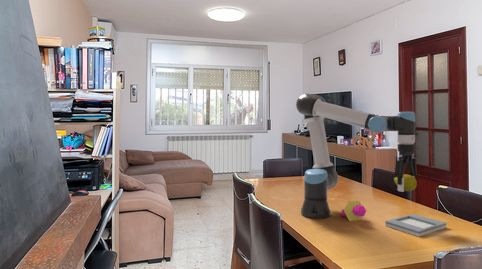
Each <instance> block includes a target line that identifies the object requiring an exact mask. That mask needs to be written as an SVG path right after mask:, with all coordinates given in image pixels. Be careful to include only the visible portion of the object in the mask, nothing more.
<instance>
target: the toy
mask: <svg viewBox="0 0 482 269" xmlns="http://www.w3.org/2000/svg"><path fill="white" fill-rule="evenodd" d="M366 213H367V209H366V208H365V206H364V205H362V203H361V201H360V200H353V201H349V200H348V203H346V206H345V207H344V208H343V209H342V210H341V213H340V214H341V216H342V217H344V218H345V217H346V218H347V219H348V221H349V222H357V221H361V219H362V217H364V216H365V215H366Z"/></svg>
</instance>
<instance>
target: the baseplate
mask: <svg viewBox="0 0 482 269" xmlns="http://www.w3.org/2000/svg"><path fill="white" fill-rule="evenodd" d="M384 224H385V225H384V226H385V227H388V228H391V229H394V230H397V231H400V232H404V233H407V234H410V235H412V236H416V237H421V236H422V237H423V236H424V235H429V234H430V233H433V232H436V231H440V230H444V229H445V228H447V222H444V221H442V220H438V219H434V218H430V217H427V216H423V215H419V214H415V213H410V214H406V215H404V216H400V217H396V218H392V219H388V220H385V222H384Z"/></svg>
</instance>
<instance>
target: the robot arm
mask: <svg viewBox="0 0 482 269" xmlns="http://www.w3.org/2000/svg"><path fill="white" fill-rule="evenodd" d="M295 108H296V109H297V112H299V113H300V114H301V115H303V117H304V121H305V122H307V123H308V129H309V137H310V143H311V149H312V150H311V151H312V156H313V161H314V162H313V163H314V165H313V166H312V169H311V168H310V169H306V170H305V172H304V178H303V180H304V184H303V185H304V188H303V189H304V194H303V195H304V199H303V203H302V205H301V209H300V213H301V214H300V215H302V216H304V217H305V218H311V219H327V218H330V217H331V209H330V206H329V202H328V190H330V189H333V188H334V187H335V186H336V185H337V184H338V181H339V175H338V173H337V171H336V170H335V166H334V164H333V162H331V157H330V153H329V146H328V141H327V135H326V134H327V133H326V130H325V129H326V128H325V123H324V120H325V119H328V120H334V121H337V122H340V123H343V124H347V125H350V126H354V127H358V128H361V129H366V130H368V131H372V132H373V133H376V134H377V133H383V132H397V152H399V155H396V156H395V168H394V178H396V177H397V178H398V186H397V191H398V192H402V193H403V192H405V191H404V178H403V174H405V171H406V170H405V169H406V168H407V173H408V175H411V176H413V177H414V178H415V177H417V173H418V169H417V154H413V153H414V152H415V151H416V144H415V143H416V122H417V121H416V113H415V112H414V111H398V112H397V115H382V116H381V115H377V114H374V113H369V112H364V111H360V110H356V109H353V108H349V107H345V106H341V105H338V104H333V103H329V102H326V100H325V98H323V97H322V96H321V95H319V94H315V93H314V94H313V93H311V94H310V93H305V94H302V95H299V97H297V100H296V102H295Z"/></svg>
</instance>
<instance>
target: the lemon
mask: <svg viewBox="0 0 482 269" xmlns="http://www.w3.org/2000/svg"><path fill="white" fill-rule="evenodd" d="M403 178H404V192H412V191H414V190H415V189H417V186H418V184H417V183H418V182H417V180H416V177H415V176H414V177H413V176H411V175H409V174H407V173H406V174H405V173H404V174H403ZM393 181H394V183H395V185H396V187H398V178H397V177H394V178H393Z"/></svg>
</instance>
